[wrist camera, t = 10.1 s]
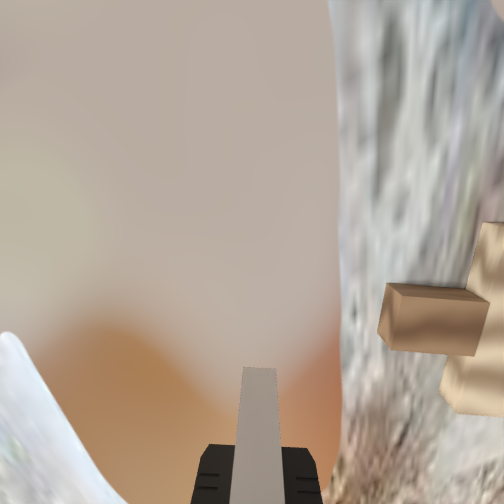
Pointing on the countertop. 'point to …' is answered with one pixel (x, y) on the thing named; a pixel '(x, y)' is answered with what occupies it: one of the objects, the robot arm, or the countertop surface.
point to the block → (432, 319)
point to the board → (482, 336)
